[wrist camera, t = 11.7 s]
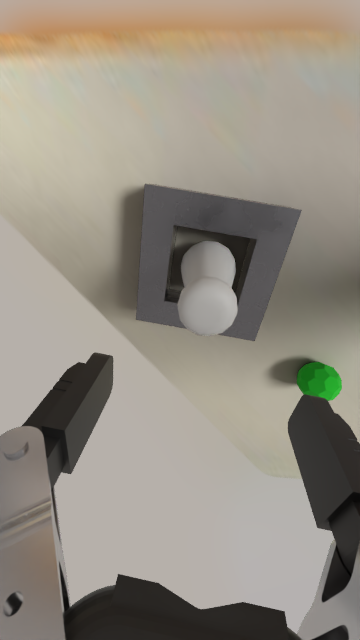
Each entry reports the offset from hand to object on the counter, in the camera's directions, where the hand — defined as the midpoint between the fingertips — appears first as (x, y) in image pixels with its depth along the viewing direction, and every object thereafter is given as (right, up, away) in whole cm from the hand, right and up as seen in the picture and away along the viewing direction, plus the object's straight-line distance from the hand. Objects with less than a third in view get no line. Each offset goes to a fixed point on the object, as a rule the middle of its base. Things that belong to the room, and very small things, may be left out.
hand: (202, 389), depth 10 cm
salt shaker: (+2, +10, +18) cm, 20 cm away
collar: (+2, +9, +18) cm, 20 cm away
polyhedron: (+17, -4, +23) cm, 29 cm away
